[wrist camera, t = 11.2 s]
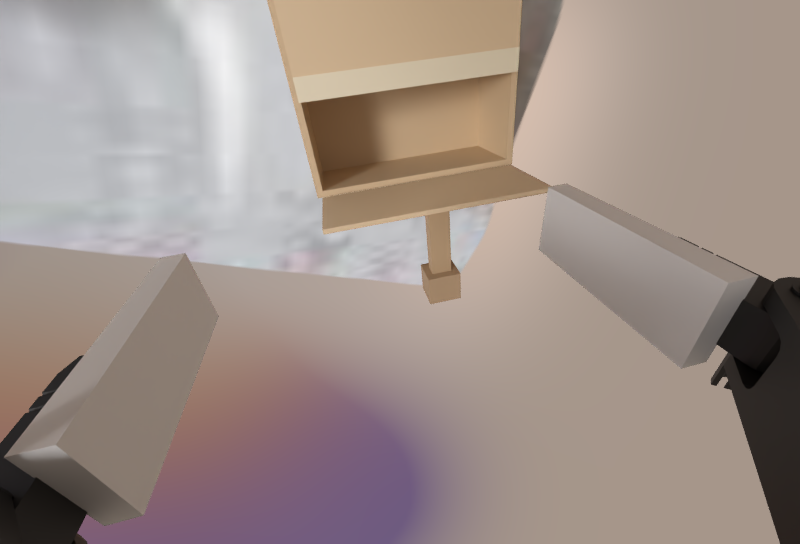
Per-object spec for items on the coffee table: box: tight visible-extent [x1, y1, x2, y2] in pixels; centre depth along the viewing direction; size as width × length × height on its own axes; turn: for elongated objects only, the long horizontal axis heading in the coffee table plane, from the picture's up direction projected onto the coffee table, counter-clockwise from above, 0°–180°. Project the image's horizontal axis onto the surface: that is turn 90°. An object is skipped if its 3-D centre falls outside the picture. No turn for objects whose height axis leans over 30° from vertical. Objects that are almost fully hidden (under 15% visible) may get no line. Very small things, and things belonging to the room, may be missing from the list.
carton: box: [267, 0, 522, 198], centre depth 32 cm, size 20×16×9 cm
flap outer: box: [323, 165, 551, 304], centre depth 32 cm, size 19×7×10 cm
